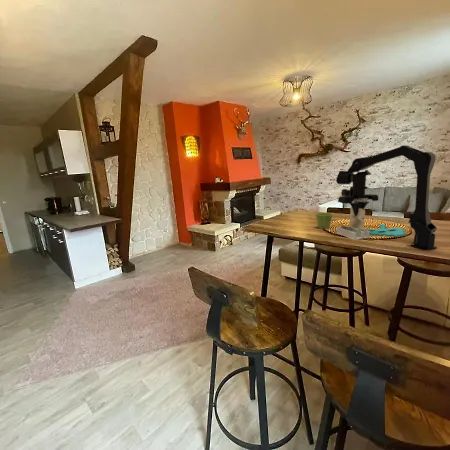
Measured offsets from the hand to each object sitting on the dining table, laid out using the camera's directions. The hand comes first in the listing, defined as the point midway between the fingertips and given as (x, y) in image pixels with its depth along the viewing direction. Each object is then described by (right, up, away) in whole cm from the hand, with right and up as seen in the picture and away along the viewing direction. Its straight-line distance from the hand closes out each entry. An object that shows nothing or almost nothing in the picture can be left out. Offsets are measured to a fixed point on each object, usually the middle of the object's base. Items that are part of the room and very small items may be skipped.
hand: (357, 215), depth 129 cm
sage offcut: (-2, -10, 0) cm, 10 cm away
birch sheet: (0, -6, +1) cm, 6 cm away
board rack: (-2, -11, +2) cm, 11 cm away
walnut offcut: (-4, -10, +3) cm, 11 cm away
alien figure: (+16, -10, +4) cm, 19 cm away
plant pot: (-9, -7, +21) cm, 23 cm away
